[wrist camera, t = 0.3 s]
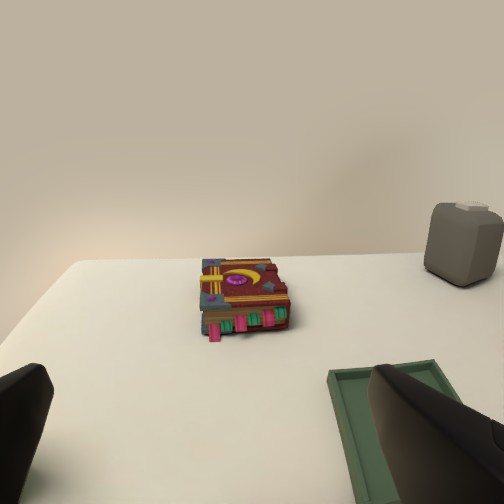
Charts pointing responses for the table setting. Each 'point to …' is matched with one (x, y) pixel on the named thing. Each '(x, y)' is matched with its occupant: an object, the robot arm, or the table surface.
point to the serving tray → (372, 427)
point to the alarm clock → (463, 242)
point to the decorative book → (242, 297)
